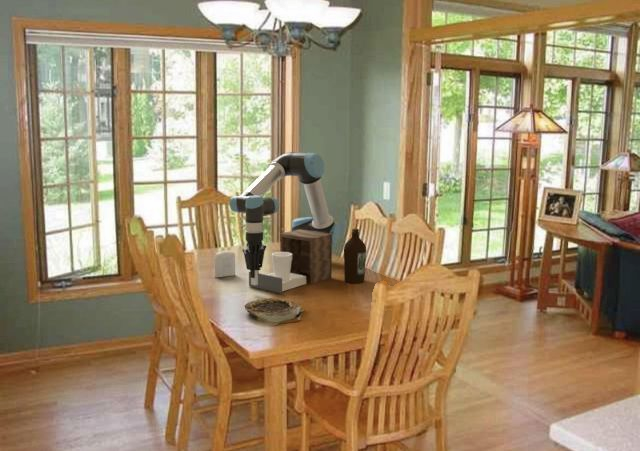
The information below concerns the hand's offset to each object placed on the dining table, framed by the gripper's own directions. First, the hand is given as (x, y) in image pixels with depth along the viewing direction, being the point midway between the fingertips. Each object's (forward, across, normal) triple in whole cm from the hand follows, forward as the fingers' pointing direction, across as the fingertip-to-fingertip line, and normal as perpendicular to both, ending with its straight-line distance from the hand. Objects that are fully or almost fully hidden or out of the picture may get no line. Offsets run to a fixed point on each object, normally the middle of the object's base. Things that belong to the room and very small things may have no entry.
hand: (254, 284), depth 288 cm
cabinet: (+4, -36, 0) cm, 36 cm away
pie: (+5, +18, +25) cm, 31 cm away
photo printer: (+4, -14, -32) cm, 35 cm away
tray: (+4, -17, 0) cm, 17 cm away
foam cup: (+3, -19, 0) cm, 19 cm away
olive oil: (+4, -46, +22) cm, 51 cm away
